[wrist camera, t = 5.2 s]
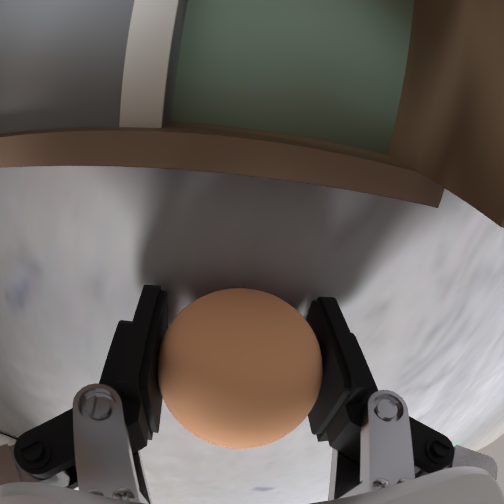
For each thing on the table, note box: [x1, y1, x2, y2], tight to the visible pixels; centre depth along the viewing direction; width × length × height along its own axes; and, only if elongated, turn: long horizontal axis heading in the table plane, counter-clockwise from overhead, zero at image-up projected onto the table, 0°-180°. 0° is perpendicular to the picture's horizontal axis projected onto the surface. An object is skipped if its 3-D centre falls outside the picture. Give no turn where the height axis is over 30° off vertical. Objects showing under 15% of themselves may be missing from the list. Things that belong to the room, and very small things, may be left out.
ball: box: [157, 288, 323, 448], centre depth 9 cm, size 5×5×5 cm
